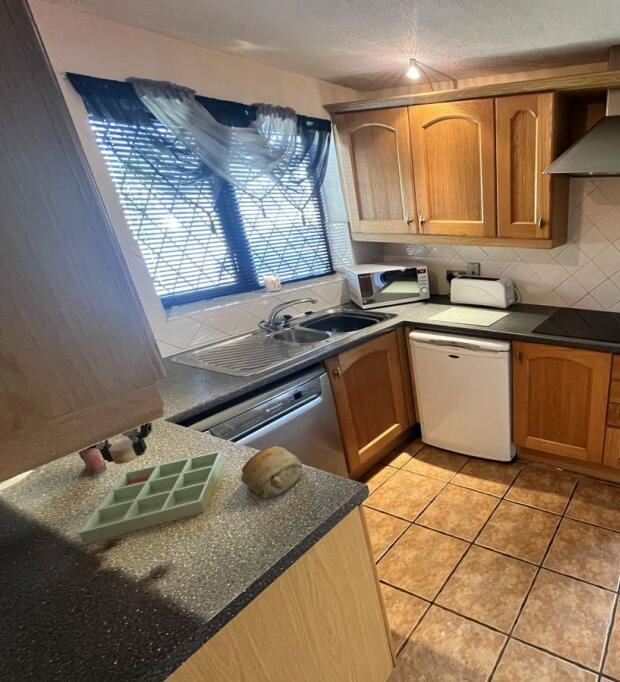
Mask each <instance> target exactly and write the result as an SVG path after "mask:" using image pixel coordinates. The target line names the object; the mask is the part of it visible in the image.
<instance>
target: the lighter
mask: <svg viewBox="0 0 620 682" xmlns="http://www.w3.org/2000/svg"><path fill="white" fill-rule="evenodd" d="M77 454H78V455H79V457H80V459H81V460H82V461H83V463H84V467H85V469H86V471H87V473H88V474H90V475H93V476H96V475H100V474H102V473H104V472H105V471H107V469H108V466H107V464H106V461H105V460H104V459H103V457H102V455H101V453H100V451H99V450H98V449H96V448H91V449H89V450H87V449H84V450H82V451H80V452H78V451H77Z"/></svg>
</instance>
